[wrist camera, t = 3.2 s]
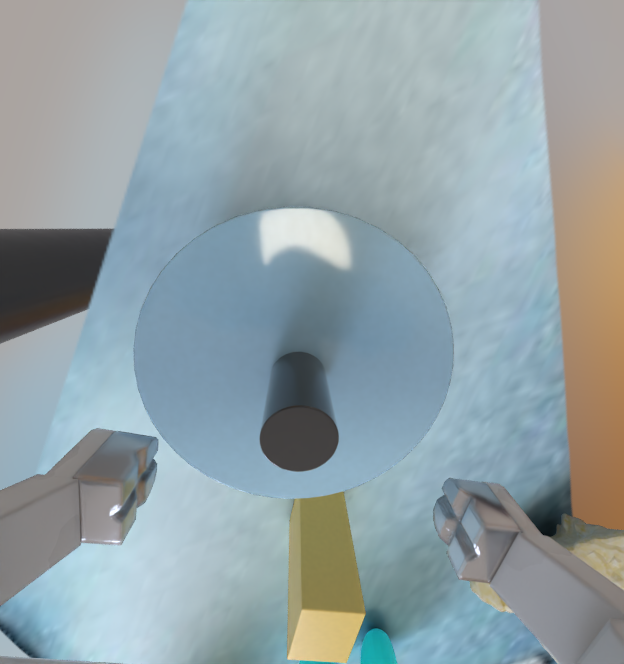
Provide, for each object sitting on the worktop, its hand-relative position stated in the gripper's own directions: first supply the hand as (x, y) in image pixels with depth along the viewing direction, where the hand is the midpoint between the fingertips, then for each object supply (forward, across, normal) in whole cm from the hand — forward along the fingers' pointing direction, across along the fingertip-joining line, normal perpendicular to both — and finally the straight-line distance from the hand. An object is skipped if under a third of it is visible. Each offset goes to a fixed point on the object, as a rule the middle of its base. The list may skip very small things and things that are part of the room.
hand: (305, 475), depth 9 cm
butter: (+15, +5, -17) cm, 23 cm away
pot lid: (+7, 0, 0) cm, 7 cm away
